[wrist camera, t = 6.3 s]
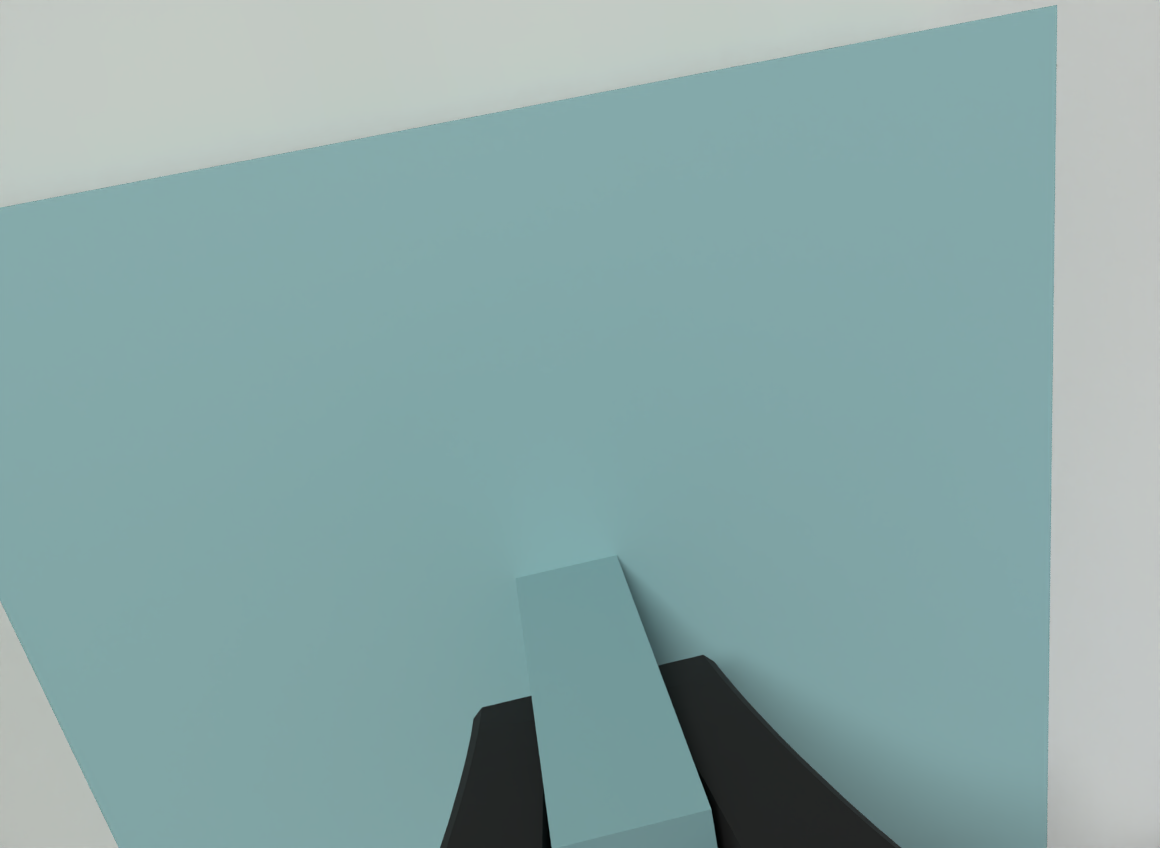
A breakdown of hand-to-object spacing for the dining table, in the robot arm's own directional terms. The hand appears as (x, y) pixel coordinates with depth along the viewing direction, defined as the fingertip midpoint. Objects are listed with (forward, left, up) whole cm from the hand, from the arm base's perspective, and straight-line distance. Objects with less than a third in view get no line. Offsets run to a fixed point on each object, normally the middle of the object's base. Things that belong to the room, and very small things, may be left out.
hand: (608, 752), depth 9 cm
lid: (0, +1, -3) cm, 3 cm away
